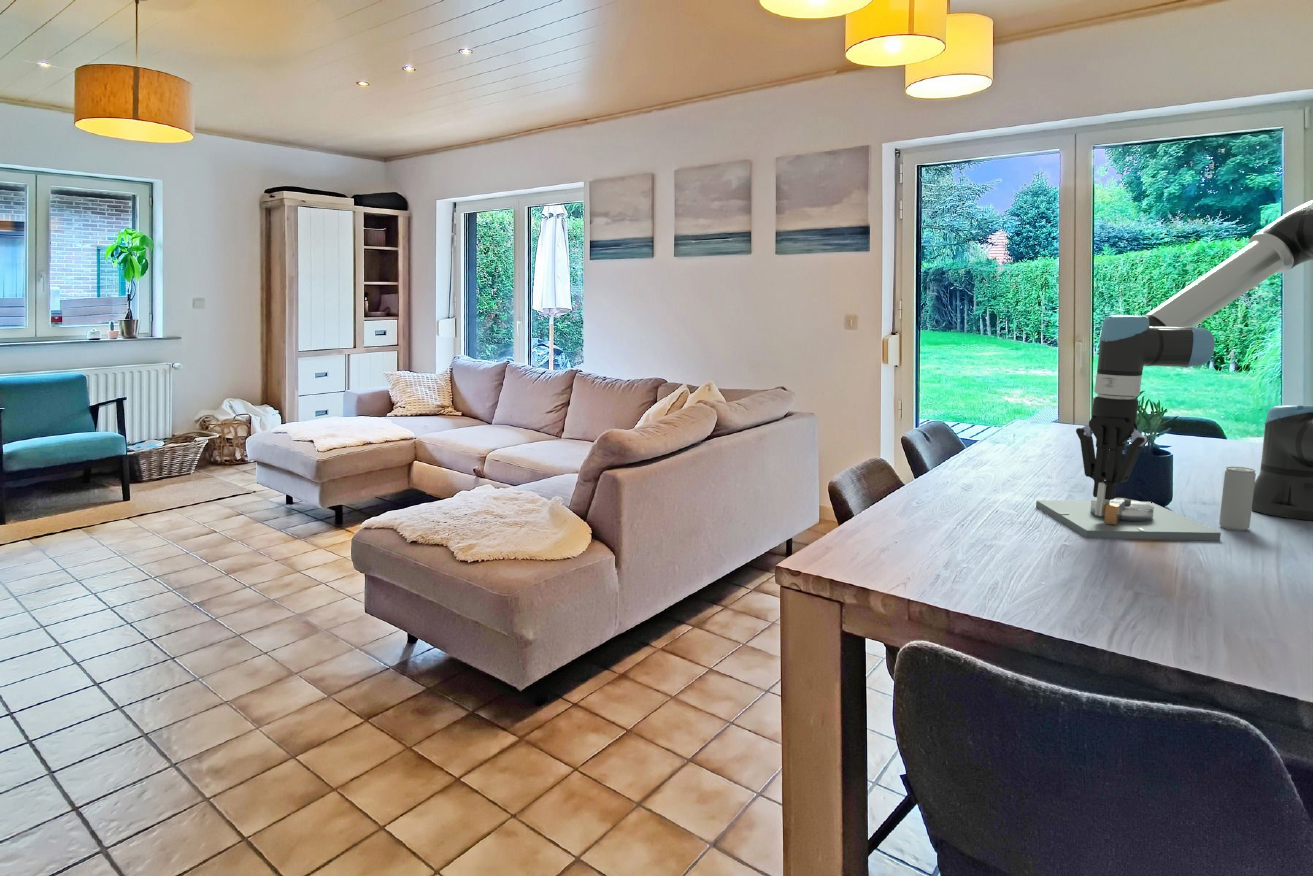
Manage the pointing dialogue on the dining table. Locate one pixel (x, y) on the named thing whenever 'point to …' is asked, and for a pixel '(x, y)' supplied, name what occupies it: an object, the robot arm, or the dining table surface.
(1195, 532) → the dial board
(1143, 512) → the dial
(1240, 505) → the beverage can
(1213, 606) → the dining table surface
